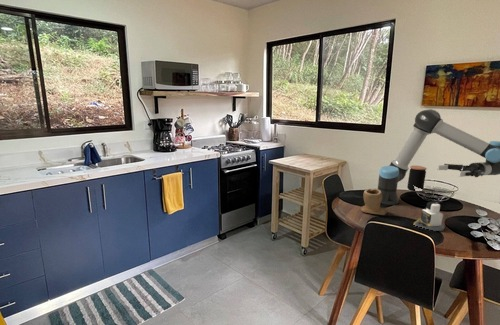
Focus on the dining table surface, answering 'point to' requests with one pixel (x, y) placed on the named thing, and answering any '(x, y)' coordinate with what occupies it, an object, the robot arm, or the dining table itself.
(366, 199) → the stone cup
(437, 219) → the medicine bottle
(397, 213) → the dining table surface
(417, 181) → the coffee jar
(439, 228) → the d plate
